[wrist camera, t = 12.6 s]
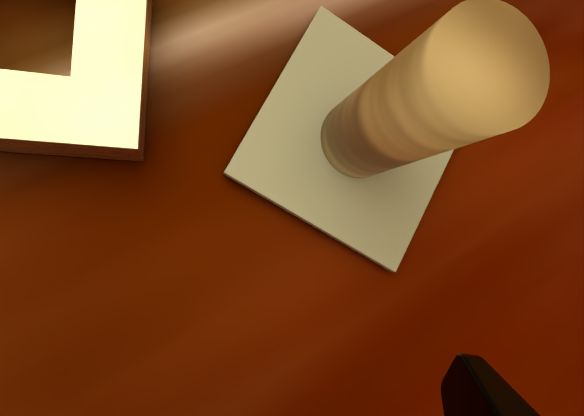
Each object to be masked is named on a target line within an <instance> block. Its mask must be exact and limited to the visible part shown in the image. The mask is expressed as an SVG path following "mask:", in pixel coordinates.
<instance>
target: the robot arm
mask: <svg viewBox="0 0 584 416" xmlns="http://www.w3.org/2000/svg"><path fill="white" fill-rule="evenodd" d="M441 396H442V403H443V410H444V416H540V415H539V414H538V413H537V412H536V411H535V410H534V409H533V408H532V407H531V406H530V405H529V404H528V403H527V402H526V401H525V400H524V399H523V398H522V397H521V396H520V395H519V394H518V393H517V392H516V391H515V390H514V389H513V388H512V387H511V386H510V385H509V384H508V383H507V382H506V381H505V380H504V379H503V378H502V377H501V376H500V375H499V374H498V373H497V372H496V371H495V370H494V369H493V368H492V367H491V366H490V365H489V364H488V363H487V362H486V361H485V360H484V359H483V358H481V357H480V356H477V355H470V354H458V355H457V356H456V357H455V358H454V360H453V362H452V364H451V366H450V367H449V369H448V371H447V373H446V375H445V376H444V378H443V380H442V384H441Z"/></svg>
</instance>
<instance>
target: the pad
mask: <svg viewBox="0 0 584 416" xmlns="http://www.w3.org/2000/svg"><path fill="white" fill-rule="evenodd" d="M393 58H394V56H393V55H391V54H390V53H388V52H387V51H385V50H384V49H383V48H381V47H380V46H378V45H377V44H375V43H374V42H373V41H371V40H370V39H368V38H367V37H365V36H364V35H362V34H361V33H360V32H358V31H357V30H355V29H354V28H352V27H351V26H350V25H348V24H347V23H345V22H344V21H342V20H341V19H339V18H338V17H337V16H335V15H334V14H332V13H331V12H329V11H328V10H327V9H325V8H324V7H322V6H321V7H320V8H319V10H318V11H317V13H316V15H315V17H314V18H313V20H312V22H311V23H310V25H309V27H308V29H307V30H306V32H305V34H304V35H303V37H302V39H301V41H300V42H299V44H298V46H297V48H296V49H295V51H294V53H293V54H292V56H291V58H290V60H289V61H288V63H287V65H286V66H285V68H284V70H283V72H282V73H281V75H280V77H279V78H278V80H277V82H276V84H275V85H274V87H273V89H272V90H271V92H270V94H269V96H268V97H267V99H266V101H265V102H264V104H263V106H262V108H261V109H260V111H259V113H258V114H257V116H256V118H255V120H254V121H253V123H252V125H251V127H250V128H249V130H248V132H247V133H246V135H245V137H244V139H243V140H242V142H241V144H240V145H239V147H238V149H237V151H236V152H235V154H234V156H233V157H232V159H231V161H230V163H229V164H228V166H227V168H226V169H225V171H224V173H223V174H224V175H225V176H227V177H229V178H231V179H232V180H234V181H236V182H237V183H239V184H241V185H243V186H244V187H246V188H248V189H249V190H251V191H253V192H255V193H256V194H258V195H260V196H261V197H263V198H265V199H267V200H268V201H270V202H272V203H273V204H275V205H277V206H279V207H280V208H282V209H284V210H285V211H287V212H289V213H291V214H292V215H294V216H296V217H297V218H299V219H301V220H303V221H304V222H306V223H308V224H310V225H311V226H313V227H315V228H316V229H318V230H320V231H322V232H323V233H325V234H327V235H328V236H330V237H332V238H334V239H335V240H337V241H339V242H340V243H342V244H344V245H346V246H347V247H349V248H351V249H352V250H354V251H356V252H358V253H359V254H361V255H363V256H364V257H366V258H368V259H370V260H371V261H373V262H375V263H376V264H378V265H380V266H382V267H383V268H385V269H387V270H388V271H391V272H396V270H397V268H398V266H399V264H400V262H401V260H402V258H403V255H404V253H405V251H406V249H407V247H408V245H409V243H410V241H411V239H412V237H413V234H414V232H415V230H416V228H417V226H418V224H419V222H420V220H421V218H422V215H423V213H424V211H425V209H426V207H427V205H428V203H429V201H430V199H431V197H432V194H433V192H434V190H435V188H436V186H437V184H438V182H439V180H440V178H441V176H442V173H443V171H444V169H445V167H446V165H447V163H448V161H449V159H450V157H451V155H452V152H453V150H454V149H453V150H450V151H447V152H444V153H440V154H437V155H434V156H431V157H428V158H425V159H422V160H419V161H416V162H413V163H410V164H407V165H403V166H400V167H397V168H394V169H391V170H388V171H385V172H382V173H379V174H376V175H373V176H370V177H365V178H353V177H349V176H346V175H344V174H342V173H340V172H339V171H337V170H336V169H335V168H334V167H333V166H332V165H331V164H330V163H329V161H328V160H327V158H326V157H325V155H324V152H323V149H322V146H321V138H320V137H321V128H322V124H323V122H324V120H325V118H326V116H327V115H328V113H329V112H330V111H331V110H332V109H333V108H334V107H336V106H337V105H338V104H339V103H340V102H341V101H343V100H344V99H345V98H346V97H347V96H349V95H350V94H351V93H352V92H353V91H355V90H356V89H357V88H358V87H359V86H361V85H362V84H363V83H364V82H365V81H367V80H368V79H369V78H370V77H371V76H372V75H374V74H375V73H376V72H377V71H378V70H380V69H381V68H382V67H383V66H384V65H386V64H387V63H388V62H389V61H390V60H392V59H393Z"/></svg>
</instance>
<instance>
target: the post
mask: <svg viewBox="0 0 584 416" xmlns="http://www.w3.org/2000/svg"><path fill="white" fill-rule="evenodd" d="M549 79H550V68H549V60H548V56H547V52H546V49H545V46H544V43H543V41H542V39H541V37H540V35H539V33H538V31H537V30H536V28H535V27H534V26H533V24H532V23H531V22H530V21H529V19H528V18H527V17H526V16H525V15H524V14H522V13H521V12H520V11H519V10H518V9H516V8H515V7H513V6H512V5H510V4H508V3H506V2H503V1H500V0H466V1H464V2H461V3H460V4H458V5H456V6H455V7H454V8H452V9H451V10H450V11H449V12H448V13H446V14H445V15H444V16H443V17H442V18H440V19H439V20H438V21H437V22H436V23H434V24H433V25H432V26H431V27H430V28H429V29H427V30H426V31H425V32H424V33H423V34H421V35H420V36H419V37H418V38H417V39H415V40H414V41H413V42H412V43H411V44H409V45H408V46H407V47H406V48H405V49H403V50H402V51H401V52H400V53H399V54H398V55H396V56H395V57H394V58H393V59H392V60H390V61H389V62H388V63H387V64H386V65H384V66H383V67H382V68H381V69H380V70H378V71H377V72H376V73H375V74H374V75H372V76H371V77H370V78H369V79H368V80H367V81H365V82H364V83H363V84H362V85H361V86H359V87H358V88H357V89H356V90H355V91H353V92H352V93H351V94H350V95H349V96H347V97H346V98H345V99H344V100H343V101H341V102H340V103H339V104H338V105H337V106H336V107H334V108H333V109H332V110H331V111H330V112H329V113H328V115H327V116H326V118H325V120H324V122H323V124H322V128H321V137H320V138H321V146H322V149H323V152H324V155H325V157H326V158H327V160H328V161H329V163H330V164H331V165H332V166H333V167H334V168H335V169H336V170H337V171H339V172H340V173H342V174H344V175H346V176H349V177H353V178H365V177H370V176H373V175H376V174H379V173H382V172H385V171H388V170H391V169H394V168H397V167H400V166H403V165H407V164H410V163H413V162H416V161H419V160H422V159H425V158H428V157H431V156H434V155H437V154H440V153H444V152H447V151H450V150H453V149H456V148H459V147H462V146H465V145H468V144H471V143H474V142H477V141H480V140H484V139H487V138H490V137H493V136H496V135H499V134H502V133H505V132H508V131H511V130H514V129H517V128H519V127H521V126H523V125H525V124H526V123H528V122H529V121H530V120H531V119H532V118H533V117H534V116H535V115H536V114H537V113H538V111H539V110H540V108H541V107H542V105H543V103H544V101H545V98H546V95H547V91H548V87H549Z"/></svg>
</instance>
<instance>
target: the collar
mask: <svg viewBox="0 0 584 416" xmlns="http://www.w3.org/2000/svg"><path fill="white" fill-rule="evenodd" d="M152 5H153V0H76V11H75V24H74V38H73V52H72V66H71V77H67V76H59V75H50V74H41V73H32V72H23V71H14V70H6V69H0V151H3V152H17V153H31V154H45V155H58V156H72V157H86V158H100V159H114V160H128V161H142V162H143V159H144V142H145V125H146V108H147V91H148V74H149V56H150V39H151V22H152Z"/></svg>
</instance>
